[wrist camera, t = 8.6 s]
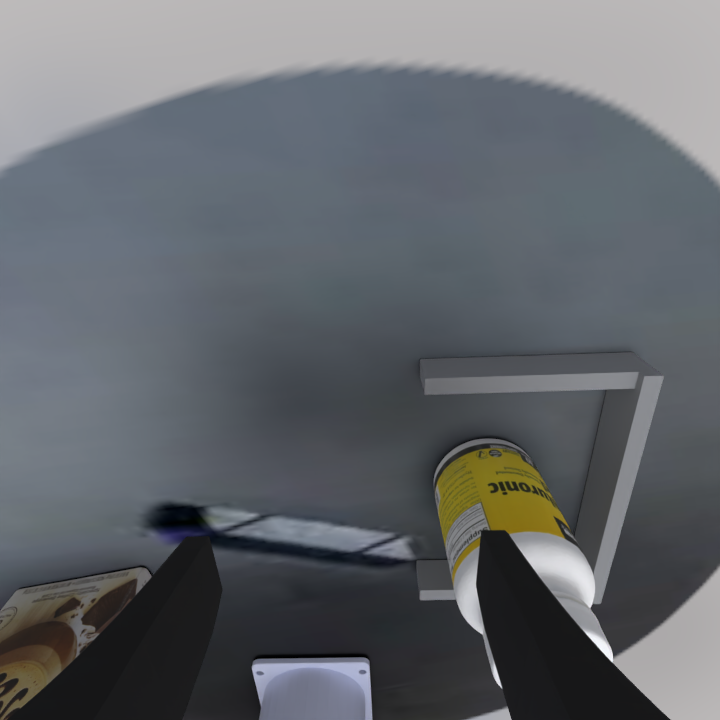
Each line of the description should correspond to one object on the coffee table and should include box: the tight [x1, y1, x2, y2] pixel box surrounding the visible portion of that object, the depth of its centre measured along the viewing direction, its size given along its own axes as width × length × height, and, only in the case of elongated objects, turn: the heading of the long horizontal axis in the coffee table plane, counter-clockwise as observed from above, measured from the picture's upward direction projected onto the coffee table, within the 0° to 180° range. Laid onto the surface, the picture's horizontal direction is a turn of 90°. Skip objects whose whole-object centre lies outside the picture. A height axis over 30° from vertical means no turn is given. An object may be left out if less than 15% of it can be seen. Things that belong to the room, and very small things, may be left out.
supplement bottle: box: [433, 438, 613, 688], centre depth 19 cm, size 5×5×10 cm
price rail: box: [416, 352, 664, 604], centre depth 22 cm, size 14×10×2 cm
